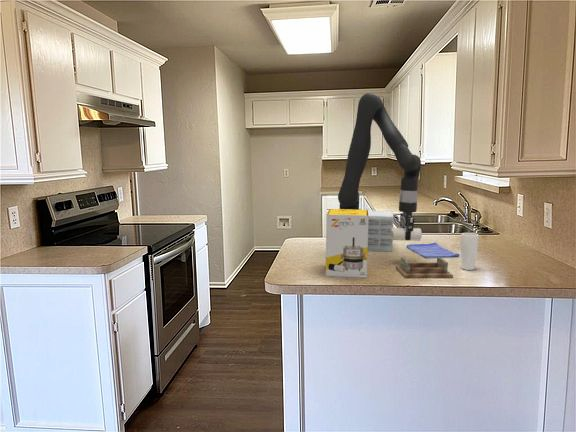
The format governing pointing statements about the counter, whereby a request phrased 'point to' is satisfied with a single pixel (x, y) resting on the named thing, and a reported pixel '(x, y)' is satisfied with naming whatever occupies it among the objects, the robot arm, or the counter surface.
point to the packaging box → (346, 243)
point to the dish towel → (432, 251)
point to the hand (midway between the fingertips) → (405, 238)
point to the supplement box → (380, 231)
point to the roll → (400, 234)
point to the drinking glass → (469, 250)
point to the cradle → (424, 269)
